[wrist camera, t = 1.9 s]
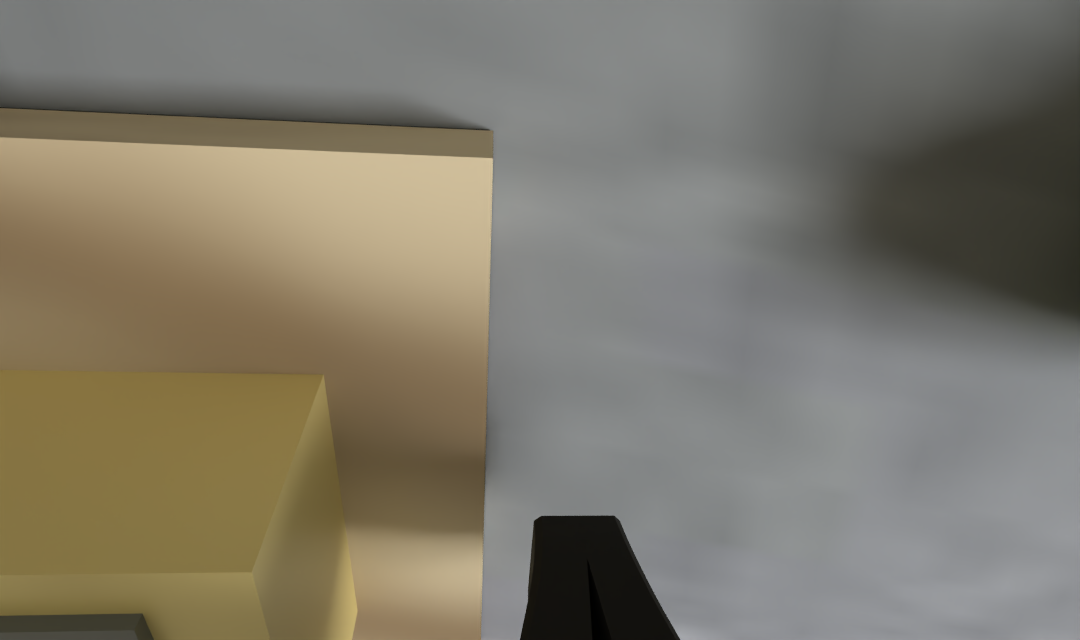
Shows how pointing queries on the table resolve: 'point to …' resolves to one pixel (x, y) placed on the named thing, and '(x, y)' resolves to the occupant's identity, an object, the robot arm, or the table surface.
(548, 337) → the table surface
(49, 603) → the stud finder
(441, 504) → the subfloor panel
